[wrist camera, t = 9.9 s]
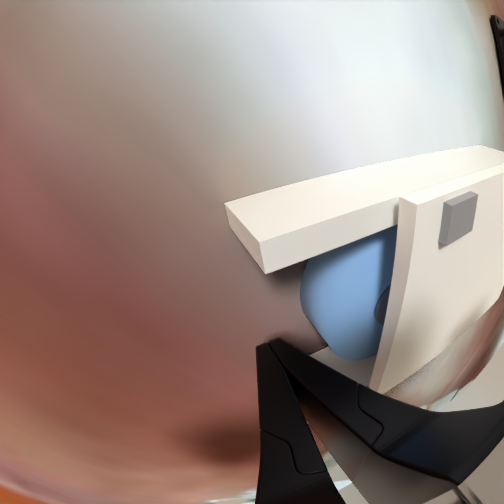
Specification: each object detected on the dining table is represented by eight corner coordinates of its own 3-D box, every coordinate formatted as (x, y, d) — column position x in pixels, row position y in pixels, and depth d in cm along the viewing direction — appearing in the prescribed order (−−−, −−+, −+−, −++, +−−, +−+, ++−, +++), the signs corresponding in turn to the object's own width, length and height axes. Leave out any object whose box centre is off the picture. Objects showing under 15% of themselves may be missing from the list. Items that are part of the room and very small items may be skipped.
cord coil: (408, 192, 11) (453, 212, 9) (397, 298, 14) (429, 324, 12) (290, 228, 10) (332, 261, 8) (302, 344, 13) (329, 383, 10)
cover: (524, 156, 8) (537, 162, 8) (492, 293, 13) (501, 300, 12) (399, 196, 6) (426, 209, 5) (367, 390, 11) (378, 403, 10)
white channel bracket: (479, 144, 11) (526, 159, 8) (462, 274, 16) (496, 298, 13) (224, 203, 8) (266, 250, 6) (269, 381, 13) (299, 436, 10)
